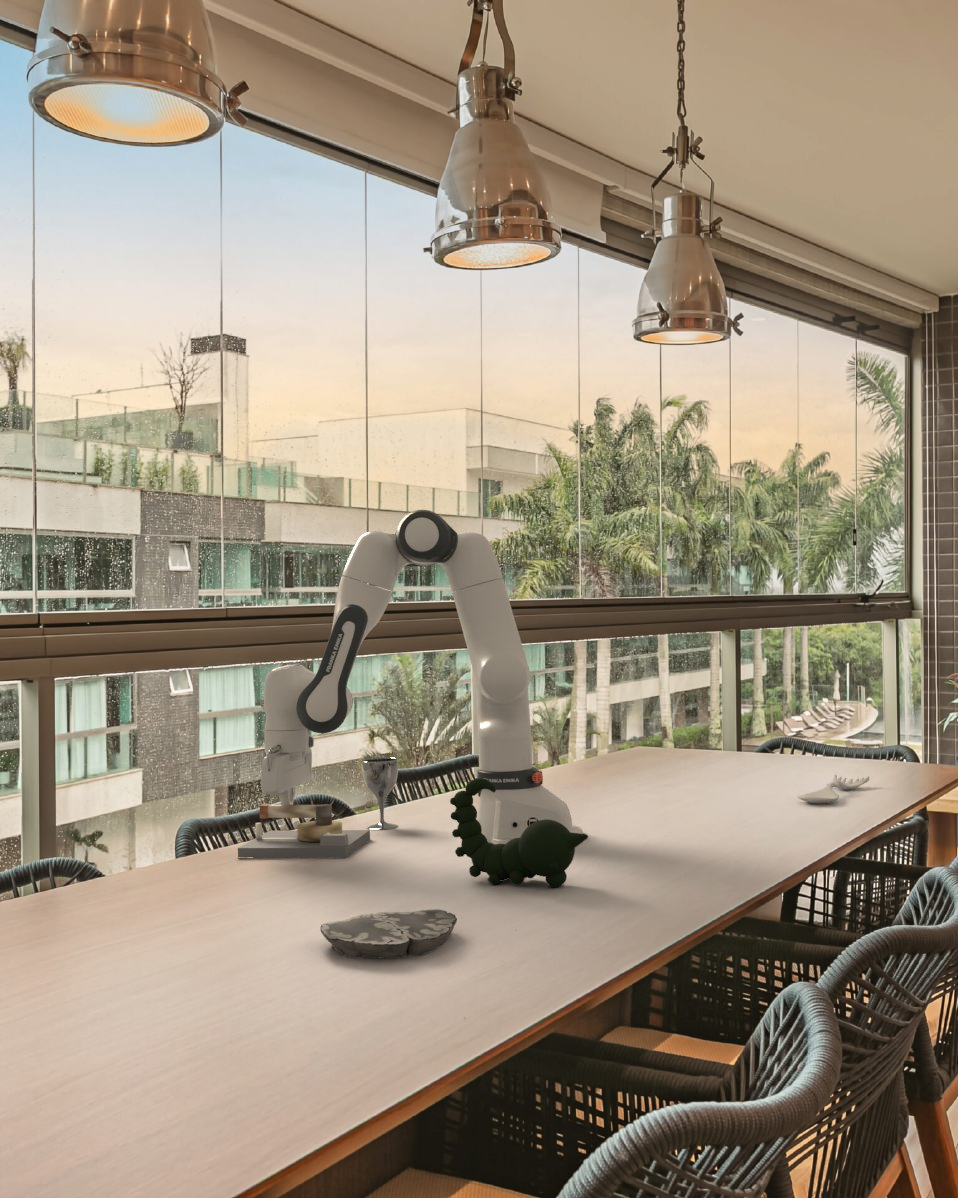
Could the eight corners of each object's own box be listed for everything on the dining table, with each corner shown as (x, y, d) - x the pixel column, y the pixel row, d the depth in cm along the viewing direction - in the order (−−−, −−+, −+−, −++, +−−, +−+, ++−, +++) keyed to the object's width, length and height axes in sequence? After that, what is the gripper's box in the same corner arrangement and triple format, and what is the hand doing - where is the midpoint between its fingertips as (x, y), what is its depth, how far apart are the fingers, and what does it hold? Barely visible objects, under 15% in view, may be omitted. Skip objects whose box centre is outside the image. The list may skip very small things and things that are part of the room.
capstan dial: (348, 833, 233) (347, 801, 233) (332, 842, 224) (331, 809, 224) (272, 832, 237) (271, 801, 237) (253, 840, 228) (252, 808, 228)
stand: (370, 839, 237) (369, 814, 237) (345, 858, 219) (344, 831, 219) (270, 840, 240) (269, 815, 240) (238, 858, 223) (237, 831, 223)
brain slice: (345, 975, 147) (344, 952, 147) (310, 942, 163) (310, 922, 163) (483, 953, 155) (482, 931, 155) (437, 923, 170) (437, 904, 170)
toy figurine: (450, 893, 194) (582, 893, 182) (437, 783, 196) (567, 775, 183) (477, 881, 203) (605, 880, 191) (464, 776, 204) (591, 768, 192)
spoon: (871, 788, 280) (871, 774, 280) (830, 809, 254) (829, 794, 254) (835, 786, 285) (834, 772, 285) (791, 806, 259) (790, 791, 259)
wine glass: (394, 830, 246) (392, 761, 246) (359, 830, 248) (357, 762, 248) (404, 823, 254) (402, 757, 254) (370, 823, 255) (368, 757, 256)
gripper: (282, 748, 223) (283, 819, 222) (316, 737, 243) (317, 802, 242) (252, 748, 224) (253, 818, 224) (288, 737, 244) (289, 801, 244)
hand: (287, 810), depth 233 cm, fingers closed
